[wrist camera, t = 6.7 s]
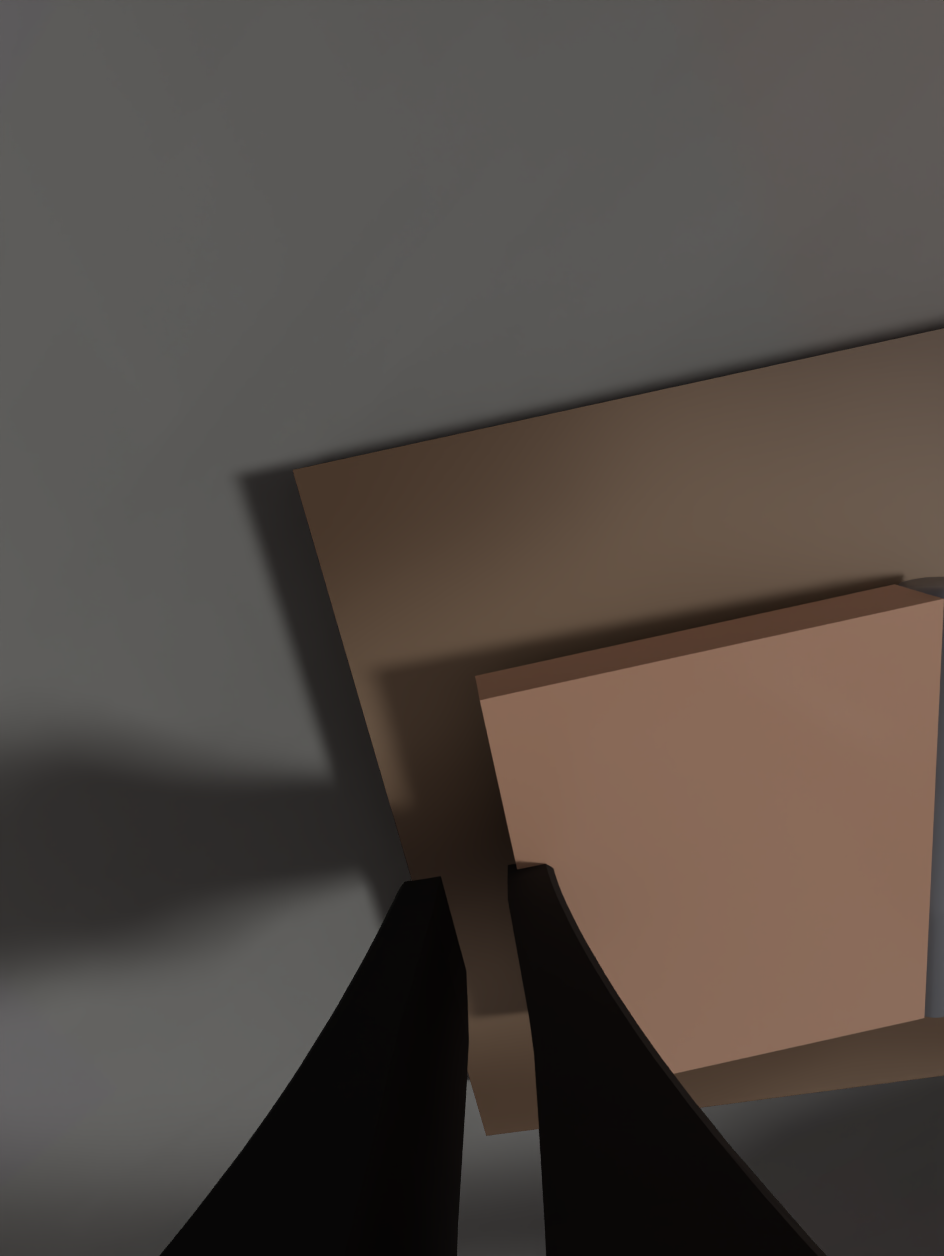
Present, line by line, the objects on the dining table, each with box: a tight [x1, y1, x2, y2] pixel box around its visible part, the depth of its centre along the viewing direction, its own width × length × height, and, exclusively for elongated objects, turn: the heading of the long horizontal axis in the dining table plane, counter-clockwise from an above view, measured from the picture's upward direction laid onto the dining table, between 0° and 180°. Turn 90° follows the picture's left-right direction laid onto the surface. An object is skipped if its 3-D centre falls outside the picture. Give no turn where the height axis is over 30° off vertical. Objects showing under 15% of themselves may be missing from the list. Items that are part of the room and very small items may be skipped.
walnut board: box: [293, 328, 944, 1136], centre depth 11 cm, size 15×18×1 cm
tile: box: [475, 577, 944, 1074], centre depth 10 cm, size 8×7×1 cm
